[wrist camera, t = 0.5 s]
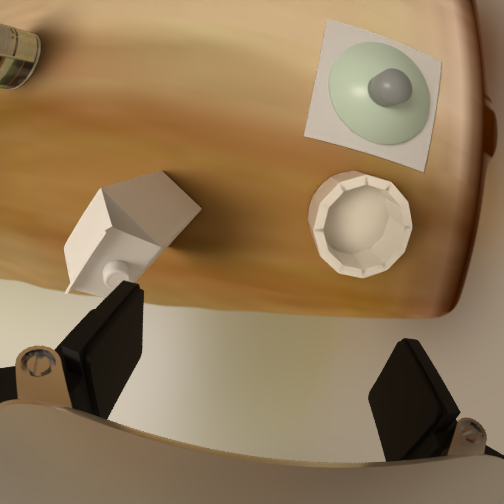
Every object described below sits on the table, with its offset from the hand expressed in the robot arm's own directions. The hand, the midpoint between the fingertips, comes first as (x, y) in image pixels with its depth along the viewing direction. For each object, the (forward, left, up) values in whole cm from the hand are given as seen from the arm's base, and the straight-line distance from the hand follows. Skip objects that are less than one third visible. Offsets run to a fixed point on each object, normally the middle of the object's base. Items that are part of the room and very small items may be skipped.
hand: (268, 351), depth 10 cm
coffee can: (-18, -44, -28) cm, 55 cm away
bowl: (-1, +10, -28) cm, 30 cm away
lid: (-17, +10, -27) cm, 34 cm away
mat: (-17, +10, -28) cm, 34 cm away
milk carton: (+3, -13, -28) cm, 31 cm away
